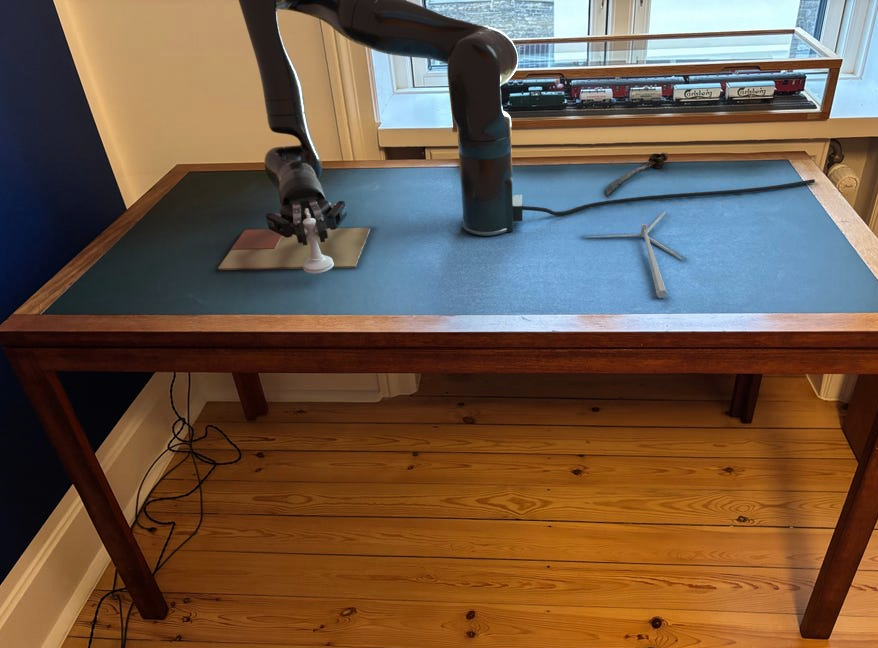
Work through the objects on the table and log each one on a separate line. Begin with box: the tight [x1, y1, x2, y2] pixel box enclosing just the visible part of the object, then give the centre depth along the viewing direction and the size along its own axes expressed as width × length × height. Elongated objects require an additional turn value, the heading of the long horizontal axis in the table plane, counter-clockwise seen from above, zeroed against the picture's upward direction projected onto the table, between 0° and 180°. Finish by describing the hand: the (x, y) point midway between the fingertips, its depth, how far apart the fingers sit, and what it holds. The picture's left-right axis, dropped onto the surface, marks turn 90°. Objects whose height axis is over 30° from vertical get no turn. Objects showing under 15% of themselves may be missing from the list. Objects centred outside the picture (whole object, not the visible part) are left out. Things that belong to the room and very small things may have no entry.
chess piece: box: [302, 208, 334, 274], centre depth 115 cm, size 5×5×10 cm
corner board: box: [217, 227, 372, 271], centre depth 129 cm, size 24×15×1 cm, turn 87°
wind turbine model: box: [584, 210, 683, 299], centre depth 122 cm, size 16×2×30 cm
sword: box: [604, 151, 669, 197], centre depth 149 cm, size 25×4×2 cm, turn 137°
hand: (313, 238), depth 112 cm, fingers closed on chess piece
